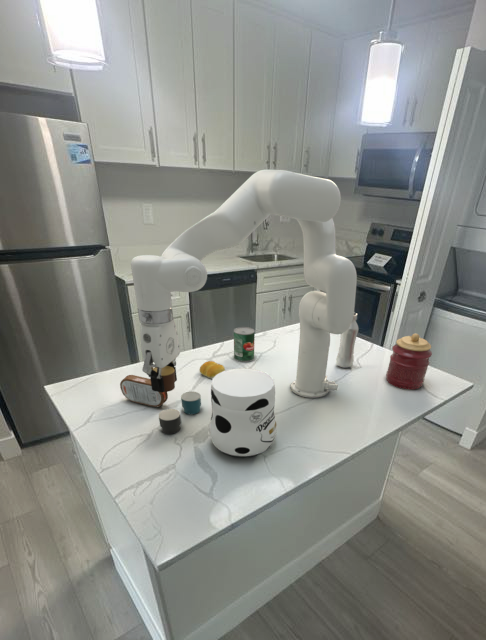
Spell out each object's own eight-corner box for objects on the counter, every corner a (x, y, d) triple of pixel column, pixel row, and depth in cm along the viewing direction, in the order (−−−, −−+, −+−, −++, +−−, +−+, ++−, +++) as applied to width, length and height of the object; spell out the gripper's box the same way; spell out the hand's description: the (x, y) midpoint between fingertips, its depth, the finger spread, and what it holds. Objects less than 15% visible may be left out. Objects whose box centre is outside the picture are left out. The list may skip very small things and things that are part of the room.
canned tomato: (236, 353, 149) (236, 326, 143) (255, 354, 148) (256, 327, 142) (231, 361, 142) (231, 333, 136) (252, 363, 141) (252, 334, 135)
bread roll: (213, 381, 128) (213, 370, 125) (196, 373, 132) (195, 363, 130) (230, 373, 133) (230, 363, 131) (213, 366, 137) (212, 356, 135)
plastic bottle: (355, 365, 143) (364, 313, 132) (348, 371, 138) (357, 317, 127) (339, 361, 146) (347, 309, 135) (332, 366, 141) (339, 314, 130)
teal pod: (204, 407, 113) (203, 393, 111) (196, 416, 109) (195, 402, 106) (187, 404, 114) (186, 390, 112) (179, 413, 110) (177, 398, 107)
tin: (169, 405, 113) (166, 380, 108) (164, 410, 111) (160, 385, 106) (127, 396, 117) (122, 371, 112) (121, 400, 114) (116, 375, 110)
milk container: (284, 457, 94) (289, 394, 84) (216, 468, 90) (212, 403, 80) (266, 421, 108) (268, 363, 98) (206, 428, 104) (201, 369, 94)
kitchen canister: (409, 394, 125) (423, 344, 116) (377, 380, 133) (388, 332, 124) (429, 383, 133) (444, 335, 123) (398, 370, 141) (409, 324, 131)
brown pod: (180, 384, 97) (178, 367, 95) (169, 394, 93) (167, 376, 90) (160, 381, 98) (158, 364, 96) (149, 390, 94) (146, 373, 91)
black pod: (185, 425, 105) (183, 410, 102) (175, 436, 100) (173, 421, 97) (167, 422, 106) (165, 407, 103) (156, 432, 101) (154, 417, 98)
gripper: (150, 328, 78) (161, 404, 88) (187, 307, 92) (193, 374, 102) (118, 324, 79) (132, 398, 89) (160, 303, 93) (168, 370, 103)
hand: (164, 385), depth 95 cm, fingers closed on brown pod, 5 cm apart
